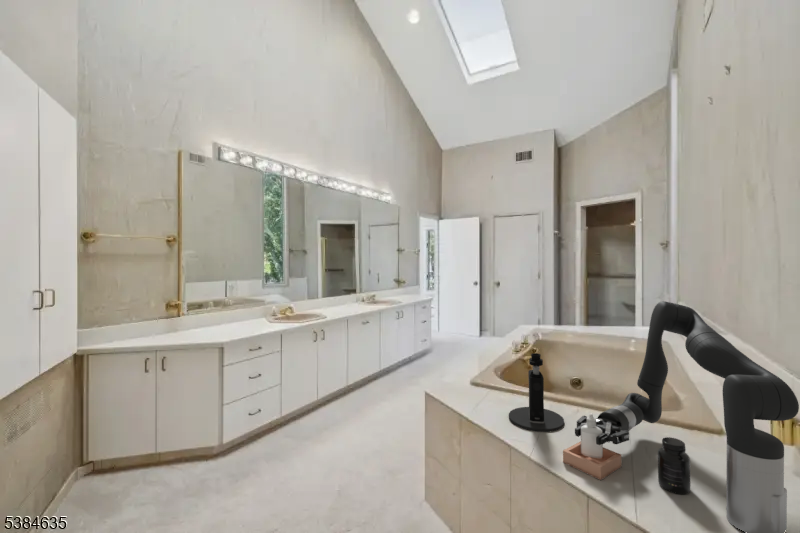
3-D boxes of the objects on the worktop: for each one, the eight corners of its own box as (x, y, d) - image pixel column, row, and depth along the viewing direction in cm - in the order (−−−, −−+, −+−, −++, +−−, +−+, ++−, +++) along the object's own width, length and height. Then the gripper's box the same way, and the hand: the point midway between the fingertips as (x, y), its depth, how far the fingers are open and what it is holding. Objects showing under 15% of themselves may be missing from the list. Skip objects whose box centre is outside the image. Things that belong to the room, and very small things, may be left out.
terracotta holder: (621, 466, 108) (621, 454, 108) (600, 480, 102) (600, 467, 102) (584, 450, 117) (584, 439, 117) (563, 462, 111) (562, 450, 111)
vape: (509, 429, 133) (508, 358, 132) (507, 407, 151) (506, 345, 151) (568, 434, 128) (568, 360, 127) (559, 411, 147) (558, 346, 146)
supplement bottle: (659, 476, 103) (659, 432, 103) (691, 485, 99) (691, 439, 98) (656, 488, 98) (656, 442, 97) (689, 499, 93) (689, 450, 93)
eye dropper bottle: (597, 461, 106) (596, 419, 106) (578, 453, 111) (577, 412, 110) (605, 456, 109) (605, 415, 108) (586, 448, 113) (586, 408, 113)
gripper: (594, 401, 123) (563, 415, 114) (642, 416, 111) (612, 433, 102) (594, 424, 123) (563, 440, 114) (642, 442, 112) (612, 461, 102)
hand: (586, 437), depth 108 cm, fingers closed on eye dropper bottle, 5 cm apart
